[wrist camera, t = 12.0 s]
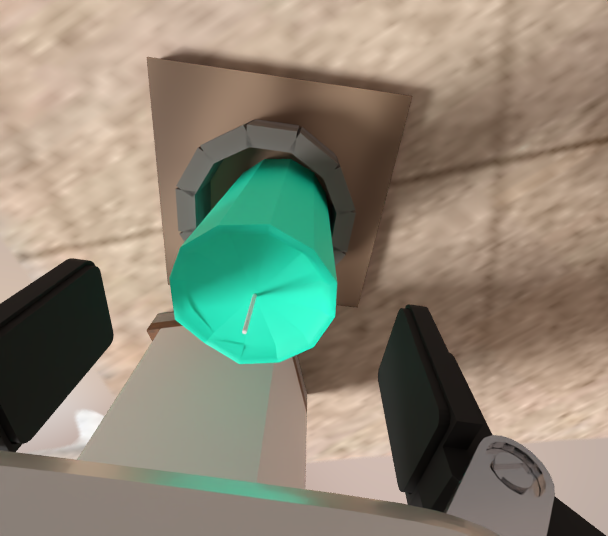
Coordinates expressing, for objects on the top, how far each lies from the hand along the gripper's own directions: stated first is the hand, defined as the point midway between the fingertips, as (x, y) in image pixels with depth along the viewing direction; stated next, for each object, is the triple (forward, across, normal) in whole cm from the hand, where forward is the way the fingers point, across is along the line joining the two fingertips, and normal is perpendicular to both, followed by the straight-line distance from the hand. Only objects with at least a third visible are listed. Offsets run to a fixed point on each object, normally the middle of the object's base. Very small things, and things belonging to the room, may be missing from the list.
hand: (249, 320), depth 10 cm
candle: (+12, 0, 0) cm, 12 cm away
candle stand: (+13, +1, 0) cm, 13 cm away
